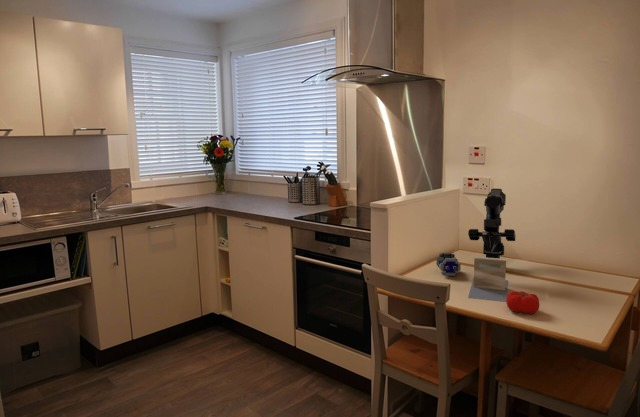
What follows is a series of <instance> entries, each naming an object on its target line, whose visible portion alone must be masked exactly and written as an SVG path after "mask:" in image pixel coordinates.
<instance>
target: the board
mask: <svg viewBox="0 0 640 417" xmlns="http://www.w3.org/2000/svg"><path fill="white" fill-rule="evenodd" d="M473 258H474V262H473V263H474V264H473V265H474V266H473V278H474V287H479V288H489V289H499V290H505V280H506V278H507V277H506V276H507V271H506V270H507V258H500V259H498V258H486V257H484V256H483V257H481V256H475V257H473Z"/></svg>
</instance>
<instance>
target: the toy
mask: <svg viewBox="0 0 640 417" xmlns="http://www.w3.org/2000/svg"><path fill="white" fill-rule="evenodd" d="M455 256H456V255H455V253H452V252H441V253H439V255H438V257H436V261H435V262H436V266H437V268H439V269H440V272H442V274H444V275H445V276H447V277H449V276H454V277H456V274H458V273H459V272H461V266H462V265H461V263H460V262H459V259H457V258H456V257H455Z"/></svg>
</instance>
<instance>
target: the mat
mask: <svg viewBox="0 0 640 417" xmlns="http://www.w3.org/2000/svg"><path fill="white" fill-rule="evenodd" d="M471 282H472V283H471V285H470V289H469V293H468V297H467V298H468V299H474V300H475V299H476V300H484V301H493V302H502V303H506V298H507V296H508V294H509V292H508V291H509V280H506V279H505V290H499V289H489V288H479V287H474V277H473V278H472V281H471Z"/></svg>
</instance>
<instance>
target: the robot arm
mask: <svg viewBox="0 0 640 417" xmlns="http://www.w3.org/2000/svg"><path fill="white" fill-rule="evenodd" d="M506 197H507V196H506V193H504V192H503V189H502V188H491V189H490V192H488V194H487V196H486V197H485V198H484V201H483V202H484V207H485V212H486V214H485V215H486V217H485V219H483V231H479V229H478V228H470V229H469V230H468V231H467V232H468V234H467V235H468V238H469V240H470V241H479V240H480V238H482V241H483V251H482V252H483V255H485V258H498V259H501V257H502V256H504V255H505V245H504V243H503V242H502V238H505V240H506V241H507V242H515V241H516V231H515V230H514V229H512V228H511V229H509V228H507V229H506V228H505V229H504V231H503V232H500V227H502V218H501V213H502V212H503V211H504V208H505V206H506V203H507V201H506V200H507V199H506Z"/></svg>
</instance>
